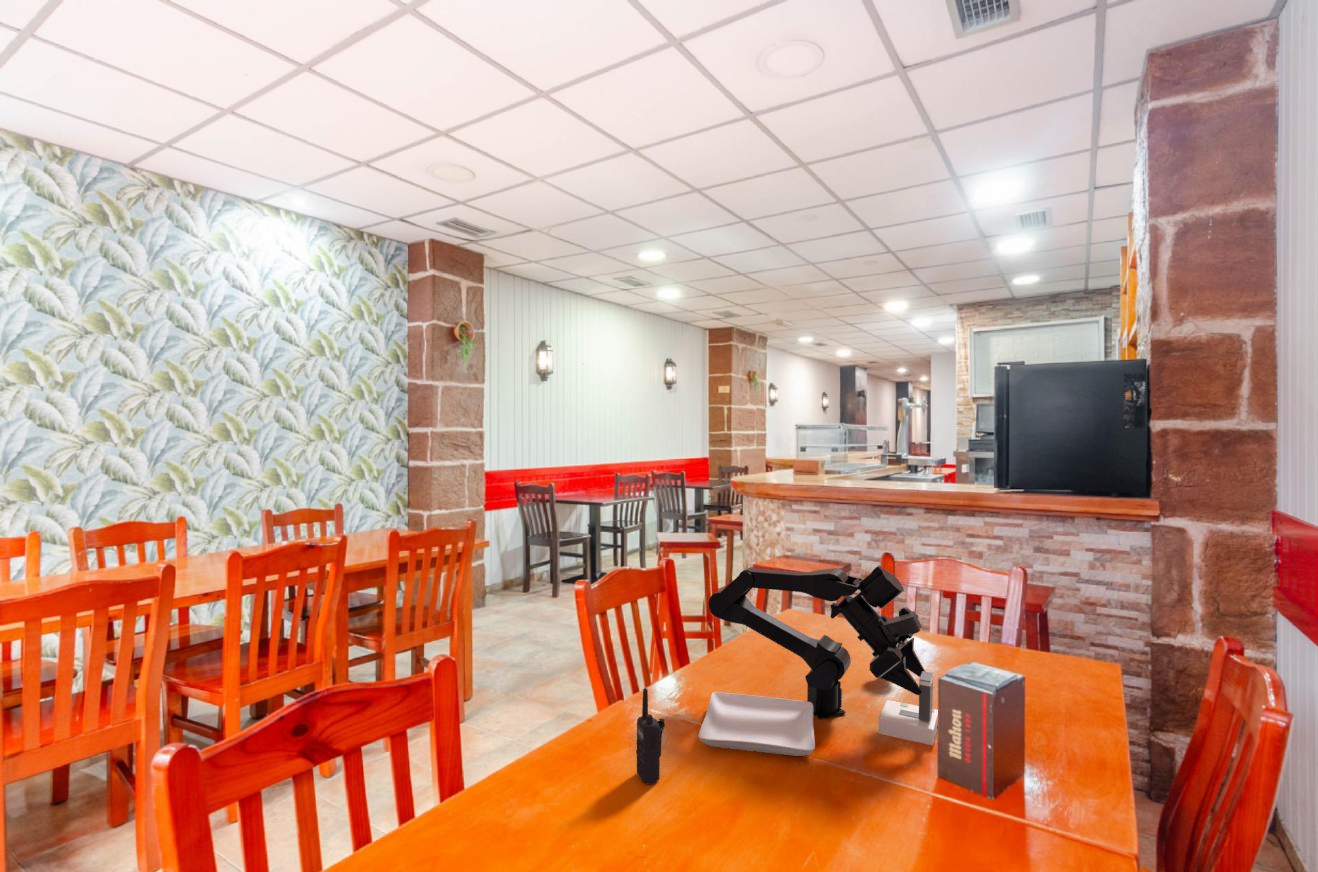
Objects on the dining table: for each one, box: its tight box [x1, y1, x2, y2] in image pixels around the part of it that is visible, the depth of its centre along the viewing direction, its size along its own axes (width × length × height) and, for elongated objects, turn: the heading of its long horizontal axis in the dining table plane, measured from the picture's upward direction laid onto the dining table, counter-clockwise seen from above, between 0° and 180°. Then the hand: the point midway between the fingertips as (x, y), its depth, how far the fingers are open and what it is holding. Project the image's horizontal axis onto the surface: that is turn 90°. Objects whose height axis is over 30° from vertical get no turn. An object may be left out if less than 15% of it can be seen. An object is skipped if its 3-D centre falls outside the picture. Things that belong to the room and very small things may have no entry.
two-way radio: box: [635, 687, 666, 785], centre depth 114 cm, size 6×4×15 cm
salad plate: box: [697, 691, 816, 757], centre depth 131 cm, size 21×21×3 cm
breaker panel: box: [877, 699, 939, 746], centre depth 133 cm, size 10×10×3 cm
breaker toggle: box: [918, 670, 934, 721], centre depth 132 cm, size 2×5×8 cm, turn 152°
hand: (923, 685), depth 132 cm, fingers open, 9 cm apart
